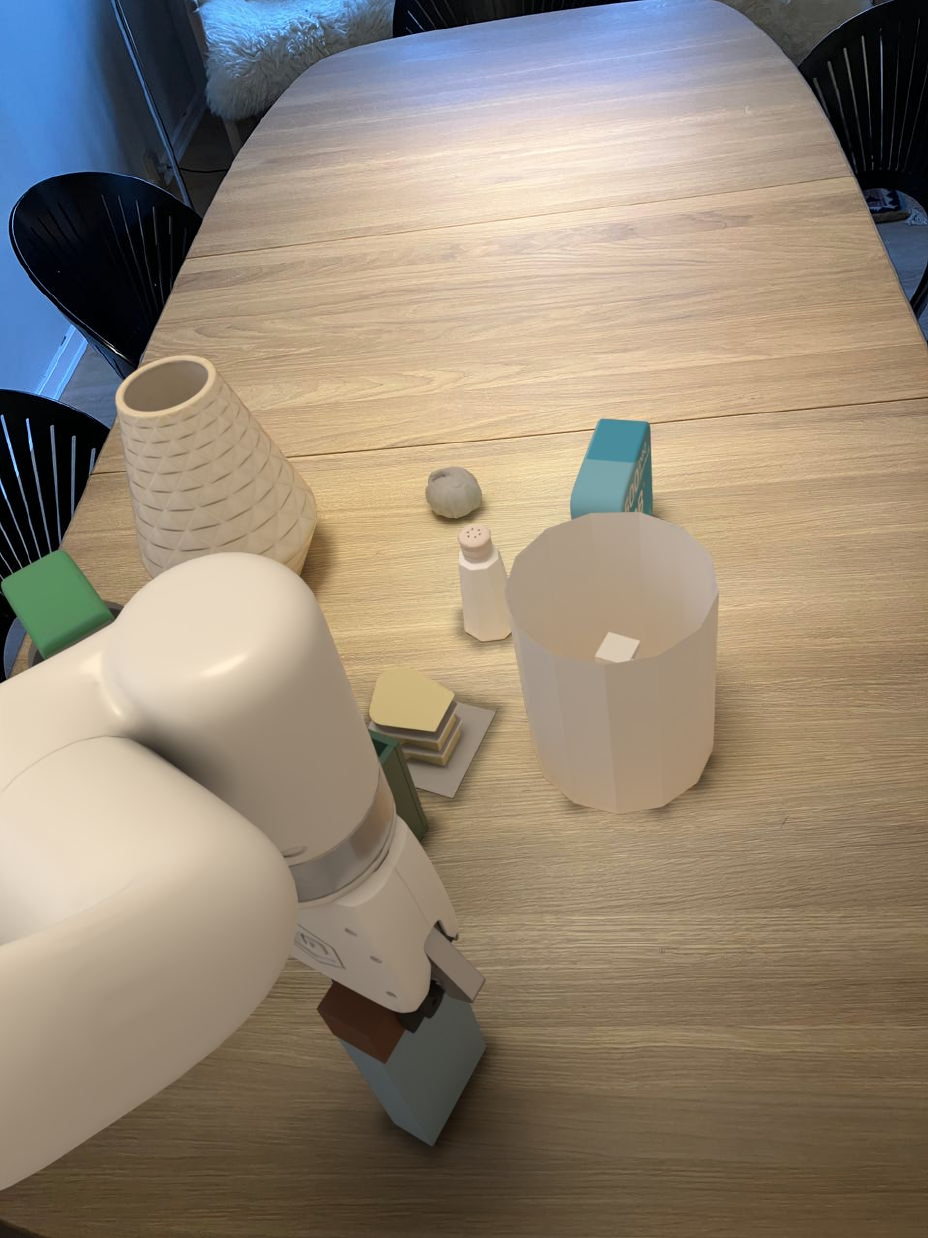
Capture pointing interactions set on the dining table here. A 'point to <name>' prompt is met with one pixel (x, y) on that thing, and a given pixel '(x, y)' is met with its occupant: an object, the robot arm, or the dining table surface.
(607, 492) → the teal box
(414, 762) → the stacked layers on plate
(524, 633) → the container
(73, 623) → the headphones
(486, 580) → the pepper shaker
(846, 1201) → the dining table surface
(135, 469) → the vase
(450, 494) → the garlic
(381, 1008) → the reddish brown block
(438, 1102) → the grey-blue rectangular block
